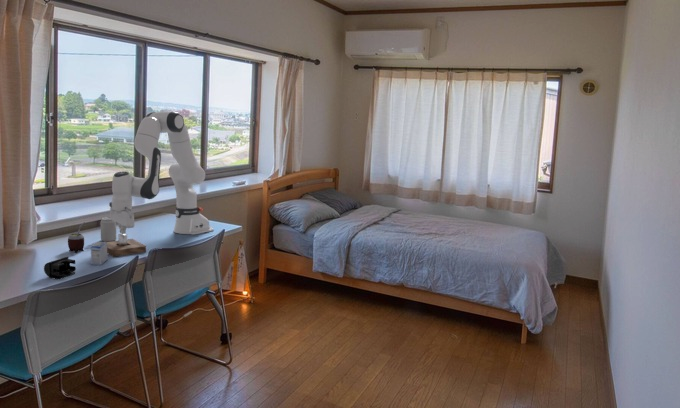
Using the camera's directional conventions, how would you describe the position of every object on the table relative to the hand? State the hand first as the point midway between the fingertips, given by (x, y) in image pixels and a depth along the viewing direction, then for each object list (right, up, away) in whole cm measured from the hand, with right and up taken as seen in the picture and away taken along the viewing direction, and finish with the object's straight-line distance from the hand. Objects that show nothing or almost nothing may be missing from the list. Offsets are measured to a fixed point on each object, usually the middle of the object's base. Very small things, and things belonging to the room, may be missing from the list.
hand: (122, 233), depth 259 cm
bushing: (-1, -9, +2) cm, 9 cm away
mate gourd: (-20, -9, -4) cm, 22 cm away
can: (-14, -5, +17) cm, 23 cm away
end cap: (-10, -16, -38) cm, 42 cm away
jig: (0, -9, +2) cm, 9 cm away
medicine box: (-3, -12, -18) cm, 22 cm away
